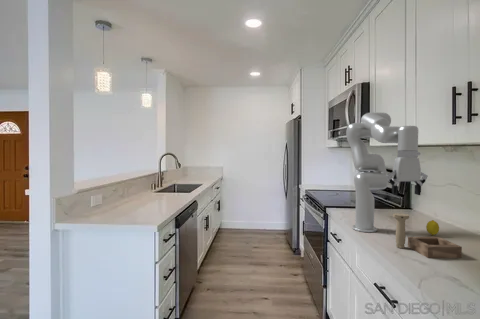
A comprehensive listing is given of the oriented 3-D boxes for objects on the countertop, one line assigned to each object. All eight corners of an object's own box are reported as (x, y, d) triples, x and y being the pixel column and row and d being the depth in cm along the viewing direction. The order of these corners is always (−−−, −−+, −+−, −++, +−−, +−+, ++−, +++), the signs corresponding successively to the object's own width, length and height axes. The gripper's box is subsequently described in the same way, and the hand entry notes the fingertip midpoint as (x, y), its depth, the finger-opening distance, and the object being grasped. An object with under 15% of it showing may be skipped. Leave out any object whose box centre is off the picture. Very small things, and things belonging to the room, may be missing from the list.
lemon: (436, 237, 149) (436, 221, 149) (424, 235, 153) (424, 219, 153) (440, 235, 152) (441, 220, 152) (428, 233, 157) (429, 218, 156)
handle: (391, 245, 137) (392, 212, 137) (406, 246, 136) (407, 213, 135) (393, 248, 133) (394, 215, 132) (409, 249, 131) (410, 216, 130)
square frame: (407, 246, 135) (407, 236, 135) (438, 246, 136) (438, 236, 135) (427, 257, 121) (428, 247, 121) (461, 257, 122) (461, 246, 121)
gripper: (422, 154, 131) (420, 193, 132) (382, 154, 130) (382, 193, 131) (433, 155, 123) (431, 196, 124) (391, 155, 123) (390, 196, 124)
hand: (406, 194), depth 128 cm, fingers open, 9 cm apart
